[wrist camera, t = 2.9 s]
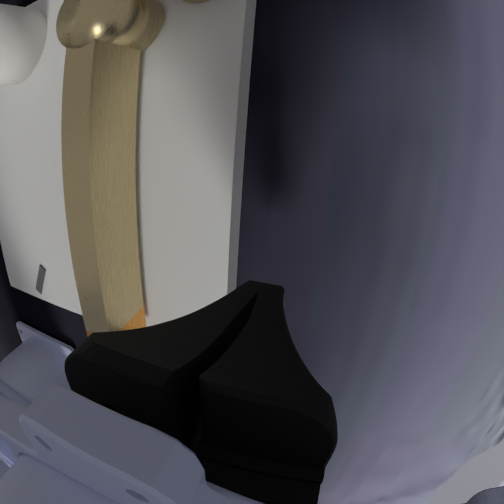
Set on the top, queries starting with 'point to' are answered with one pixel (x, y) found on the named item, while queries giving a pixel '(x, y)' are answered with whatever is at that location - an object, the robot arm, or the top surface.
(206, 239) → the base
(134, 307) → the adjusting lever
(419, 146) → the top surface
